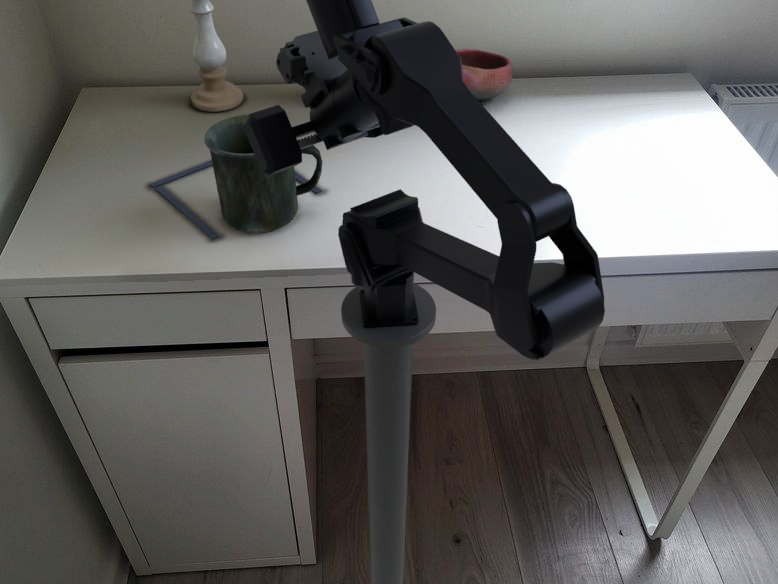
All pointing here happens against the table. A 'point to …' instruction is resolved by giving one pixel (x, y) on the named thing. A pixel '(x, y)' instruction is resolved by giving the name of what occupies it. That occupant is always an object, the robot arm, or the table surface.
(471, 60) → the bowl
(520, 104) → the table surface
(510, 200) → the robot arm
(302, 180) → the tape outline
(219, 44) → the candle holder
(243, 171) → the mug
